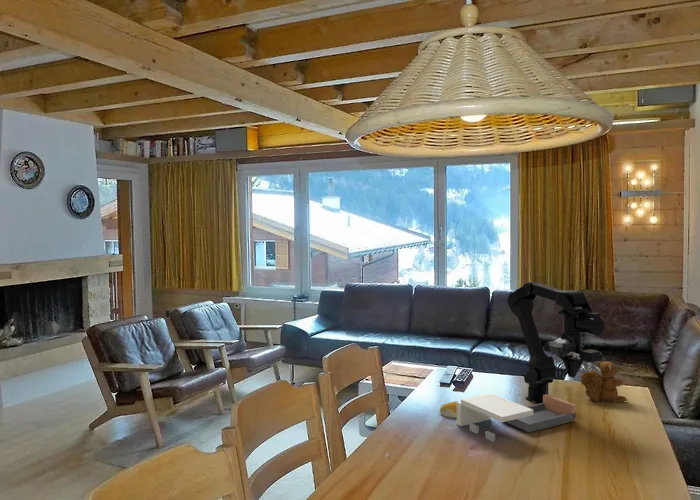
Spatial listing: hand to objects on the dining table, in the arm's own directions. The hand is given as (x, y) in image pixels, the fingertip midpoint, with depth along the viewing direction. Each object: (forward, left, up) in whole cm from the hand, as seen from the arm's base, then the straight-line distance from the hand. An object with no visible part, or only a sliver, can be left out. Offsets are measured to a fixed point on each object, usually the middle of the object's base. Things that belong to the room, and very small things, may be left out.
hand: (571, 377), depth 188 cm
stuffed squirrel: (-21, -5, -12) cm, 25 cm away
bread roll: (+33, -19, -12) cm, 40 cm away
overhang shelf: (+32, 0, -12) cm, 35 cm away
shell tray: (+15, 0, -12) cm, 19 cm away
